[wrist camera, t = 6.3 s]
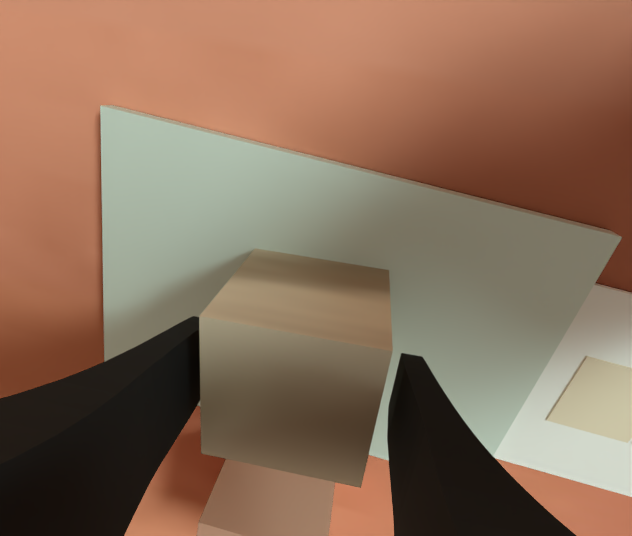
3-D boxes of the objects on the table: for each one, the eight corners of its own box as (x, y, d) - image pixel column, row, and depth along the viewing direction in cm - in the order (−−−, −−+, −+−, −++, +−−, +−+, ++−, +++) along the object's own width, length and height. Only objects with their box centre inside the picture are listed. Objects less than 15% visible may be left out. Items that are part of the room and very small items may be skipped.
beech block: (255, 248, 13) (199, 316, 9) (389, 270, 13) (392, 351, 9) (249, 357, 15) (201, 453, 11) (366, 378, 15) (360, 487, 11)
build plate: (112, 105, 13) (100, 105, 12) (611, 230, 12) (622, 237, 11) (113, 369, 17) (104, 379, 17) (472, 472, 17) (475, 485, 16)
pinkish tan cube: (240, 423, 18) (198, 521, 14) (338, 451, 17) (325, 560, 13) (228, 488, 19) (188, 592, 15) (317, 514, 19) (299, 627, 15)
